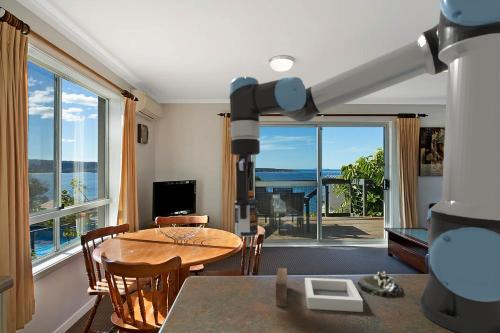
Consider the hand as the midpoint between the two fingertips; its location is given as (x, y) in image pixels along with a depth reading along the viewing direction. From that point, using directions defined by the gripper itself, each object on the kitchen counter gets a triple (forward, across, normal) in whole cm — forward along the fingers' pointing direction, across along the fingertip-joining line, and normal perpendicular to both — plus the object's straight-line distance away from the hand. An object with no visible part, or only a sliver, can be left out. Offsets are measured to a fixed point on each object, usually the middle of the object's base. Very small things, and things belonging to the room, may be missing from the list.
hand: (246, 229), depth 71 cm
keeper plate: (+17, 0, +21) cm, 27 cm away
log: (+17, -8, +34) cm, 39 cm away
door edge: (+17, 0, +9) cm, 19 cm away
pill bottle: (+2, 0, 0) cm, 2 cm away
